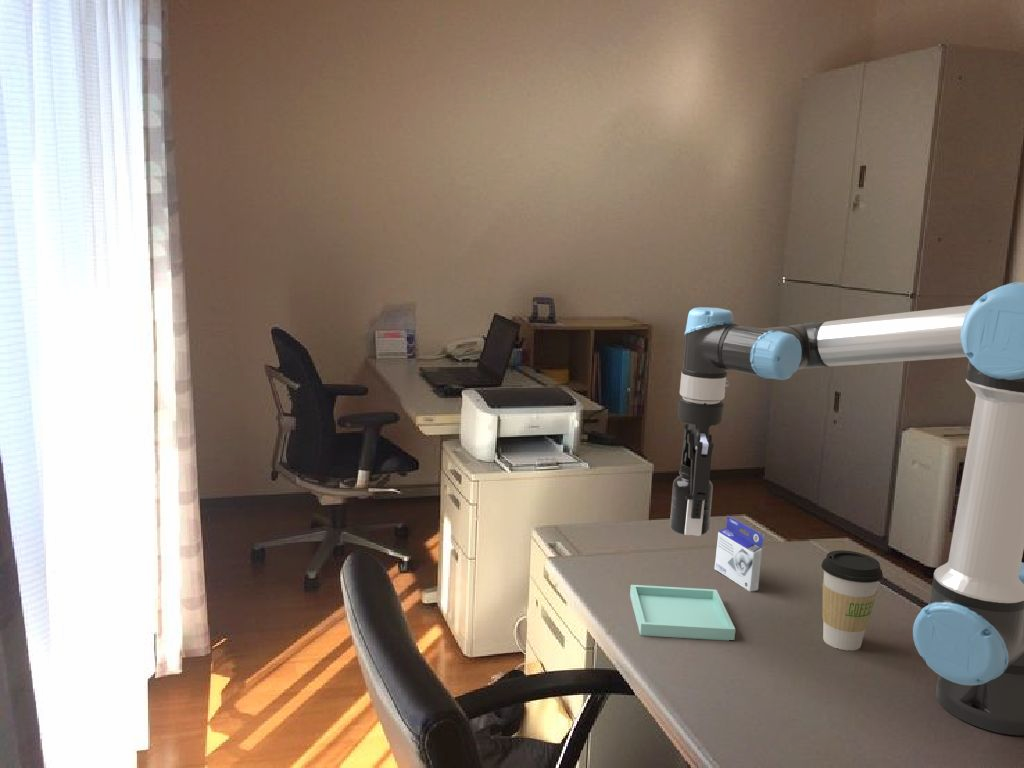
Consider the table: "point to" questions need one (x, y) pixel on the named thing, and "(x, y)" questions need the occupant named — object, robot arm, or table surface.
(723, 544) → the ink box
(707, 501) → the supplement bottle
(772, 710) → the table surface
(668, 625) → the tray
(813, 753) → the table surface
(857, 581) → the coffee cup
